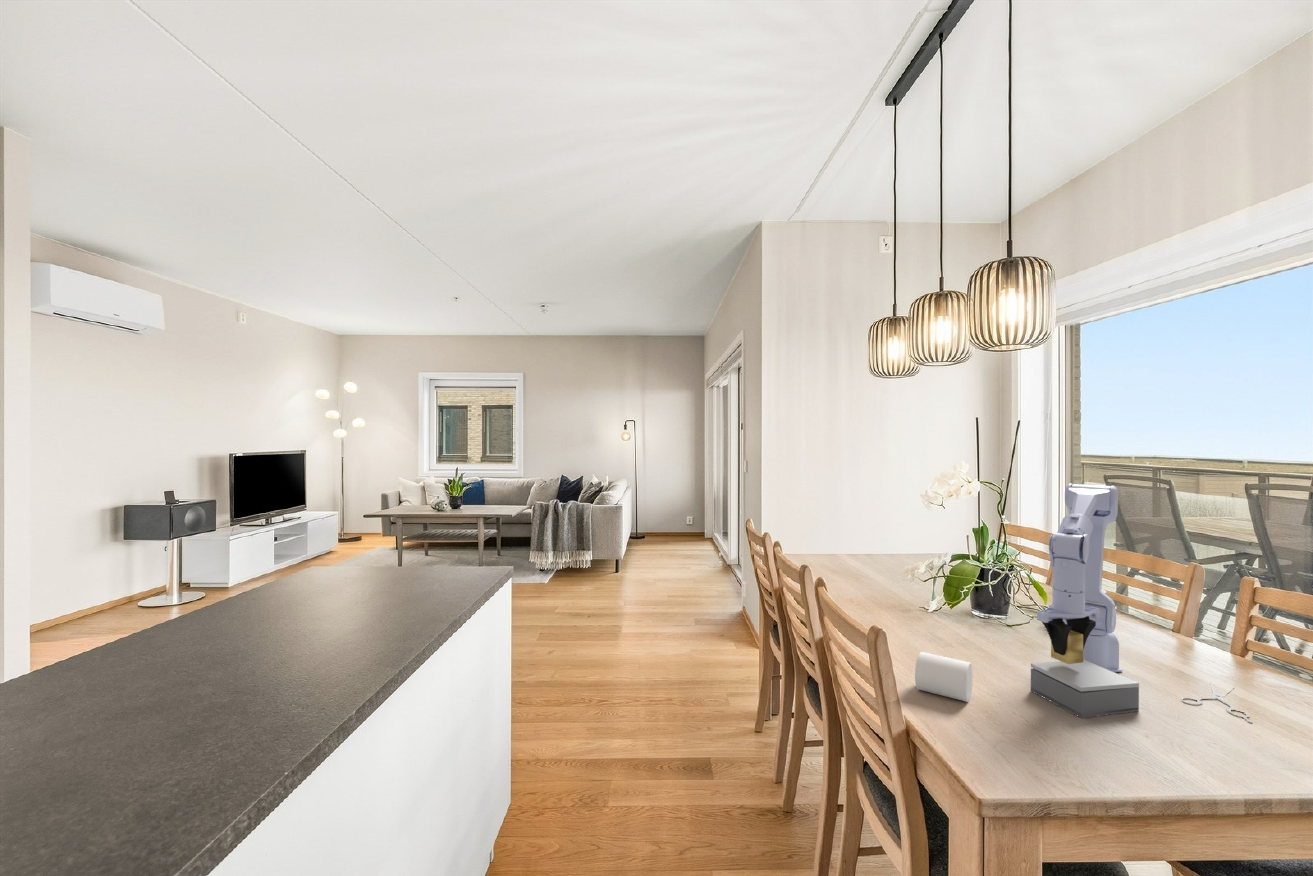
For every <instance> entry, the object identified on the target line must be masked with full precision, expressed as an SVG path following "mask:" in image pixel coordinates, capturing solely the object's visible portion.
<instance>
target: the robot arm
mask: <svg viewBox="0 0 1313 876" xmlns="http://www.w3.org/2000/svg"><path fill="white" fill-rule="evenodd" d="M1064 504H1065V506H1066V508H1067V511H1068V513H1069V514H1067V515H1065V516H1064V517H1063V518H1062V520H1061V523H1060V526H1059V527H1058V530H1057V532H1056V533H1054V534H1051V535H1050V536H1049V540H1048V553H1049V559H1050V561H1049V562H1050V563H1049V564H1050V567H1052V570H1051V571H1052V575H1051V576H1052V579H1051V580H1052V582H1051V583H1052V585H1051V587H1052V591H1051V592H1052V594H1051V595H1052V599H1051V600H1052V602H1051V604H1048V607H1047V608H1045V609H1042V610H1037V611H1036V621H1039V622H1041V623H1042V625H1043V626H1044V628H1045V629H1046V632H1047V633H1048V636H1049V639H1050V643H1051V642H1052V645H1053V649H1054V652H1056V653H1058V654H1061V655H1065V653H1066V648H1067V639H1068V635H1069V632H1070V630H1072V631H1075V632H1078V633H1081V634H1083V660H1086V661H1088V662H1091V663H1093V664H1095V665H1098V666H1100V667H1102V668H1105V669H1107V670H1109V671H1112V672H1114V673H1118V672H1119V673H1120V672H1123V668H1120V643H1119V640H1118V638H1117V636H1116V635H1115V633H1114V632H1115V631H1116V624H1117V612H1116V603H1115V601H1114V600H1113V598H1111V597H1110V596H1109V595H1108V594H1107V595H1106V594H1105V593H1104V592H1102V590H1101V589H1103V588H1102V587H1103V585H1102V584H1103V568H1104V567H1103V566H1104V551H1105V549H1104V548H1105V533H1106V532H1105V531H1106V529H1107V527H1108V524H1109V523H1113V522H1115V521H1117V517H1118V514H1119V513H1118V512H1119V489H1118V488H1117V487H1116V486H1115V485H1111V486H1110V485H1096V484H1095V485H1094V484H1081V483H1080V484H1076V483H1075V484H1074V483H1071V482H1070V483H1068V484H1067V485H1066V487H1065V492H1064ZM1085 600H1086V601H1091V602H1097V603H1102V604H1104V605H1105V606H1103V605H1097V604H1091V603H1086V602H1085Z"/></svg>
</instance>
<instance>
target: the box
mask: <svg viewBox="0 0 1313 876" xmlns="http://www.w3.org/2000/svg"><path fill="white" fill-rule="evenodd" d="M1031 691H1033V692H1035V693H1037V694H1038V696H1039V695H1040V696H1039V697H1041V696H1043V697H1045V698H1046V699H1047V700H1046V699H1045V700H1046V701H1048V700H1051V701H1052V702H1053V703H1052V702H1051V703H1052V704H1054V703H1055V704H1056V705H1055V704H1054V705H1055V706H1057V705H1059V706H1061V707H1062V709H1063V708H1064V709H1063V710H1065V711H1067V710H1068V711H1070V712H1071V713H1070V712H1069V713H1070V714H1072V713H1073V714H1072V715H1074V714H1076V715H1078V716H1079V717H1078V716H1077V717H1078V718H1080V719H1084V718H1083V717H1087V718H1092V717H1091V716H1095V717H1098V716H1097V715H1104V716H1107V715H1106V714H1112V715H1119V714H1118V713H1121V714H1126V713H1128V712H1129V713H1135V711H1138V712H1140V705H1139V704H1140V703H1139V702H1140V686H1139V687H1133V688H1120V689H1108V690H1095V691H1083V692H1081V691H1079V690H1077V689H1075V688H1073V687H1071V686H1069V685H1067V684H1064V683H1062V682H1060V681H1058V680H1056V679H1054V678H1052V677H1050V676H1048V675H1046V674H1044V673H1042V672H1040V671H1038V670H1036V669H1034V668H1032V667H1031V668H1030V692H1031ZM1033 692H1032V693H1033ZM1035 693H1034V694H1035ZM1037 694H1036V695H1037ZM1059 706H1058V707H1059ZM1061 707H1060V708H1061ZM1068 711H1067V712H1068ZM1116 713H1117V714H1116ZM1129 713H1128V714H1129ZM1076 715H1075V716H1076Z"/></svg>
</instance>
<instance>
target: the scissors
mask: <svg viewBox="0 0 1313 876" xmlns="http://www.w3.org/2000/svg"><path fill="white" fill-rule="evenodd" d="M1210 688H1211V692H1212V691H1213V692H1212V694H1211V695H1209V696H1206V697H1198V698H1196V697H1186V696H1185V697H1184V696H1183V697H1181V698H1180V701H1181V700H1182V701H1183V702H1185V703H1184V704H1186V703H1187V705H1189V704H1190V706H1195V705H1197V706H1202V705H1203V702H1202V701H1203V700H1202V699H1213V700H1212V701H1218V700H1220V701H1222V702H1224V703H1225V704H1224V703H1223V704H1224V705H1226V704H1227V705H1229V706H1230V707H1229V706H1228V707H1229V708H1226V709H1225V711H1226V710H1227V711H1228V712H1229V713H1228V712H1227V711H1226V712H1227V713H1228V714H1230V713H1231V714H1230V715H1232V714H1235V712H1234V711H1231V710H1240V709H1238V708H1236V707H1234V706H1233V704H1231V703H1228V702H1226V701H1225V699H1224V698H1225V696H1227V695H1228V694H1226V695H1224V694H1222V696H1224V697H1220V696H1221V694H1220V693H1221V692H1219V691H1218V689H1217V688H1216V687H1215V685H1214V684H1213V683H1212V681H1210ZM1214 691H1218V692H1217V693H1216V692H1214ZM1183 699H1184V700H1183ZM1189 699H1191V701H1194V700H1197V702H1194V703H1193V702H1188V701H1186V700H1189ZM1198 700H1201V701H1198ZM1182 701H1181V702H1182ZM1220 701H1219V702H1220ZM1183 702H1182V703H1183ZM1222 702H1221V703H1222ZM1201 704H1202V705H1201ZM1227 705H1226V706H1227ZM1242 711H1243V710H1242ZM1243 712H1245V714H1249V713H1248V712H1246V711H1243ZM1245 714H1244V715H1242V716H1241V717H1243V716H1245ZM1246 717H1248V716H1245V717H1243V718H1244V719H1246V720H1247V719H1249V718H1246ZM1243 718H1242V719H1243ZM1244 719H1243V720H1244ZM1246 720H1245V721H1246ZM1247 721H1248V722H1250V723H1249V724H1253V721H1252V720H1250V719H1249V720H1247ZM1247 721H1246V722H1247ZM1248 722H1247V723H1248Z"/></svg>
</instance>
